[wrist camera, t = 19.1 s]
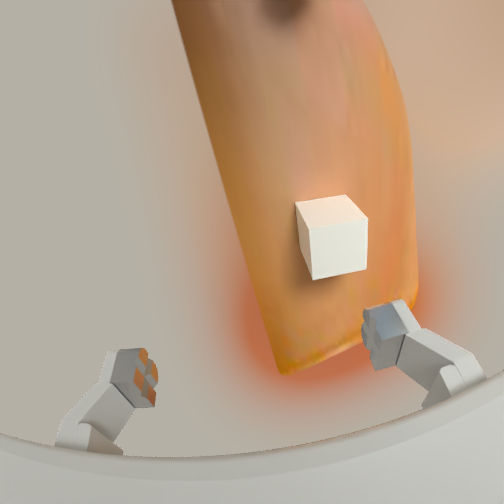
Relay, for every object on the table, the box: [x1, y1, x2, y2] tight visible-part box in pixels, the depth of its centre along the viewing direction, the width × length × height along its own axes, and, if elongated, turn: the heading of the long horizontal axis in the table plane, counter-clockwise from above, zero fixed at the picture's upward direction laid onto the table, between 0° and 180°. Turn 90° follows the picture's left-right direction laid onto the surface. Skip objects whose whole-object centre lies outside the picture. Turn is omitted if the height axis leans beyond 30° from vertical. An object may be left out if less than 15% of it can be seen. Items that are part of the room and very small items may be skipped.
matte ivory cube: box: [295, 194, 368, 280], centre depth 38 cm, size 7×7×8 cm
